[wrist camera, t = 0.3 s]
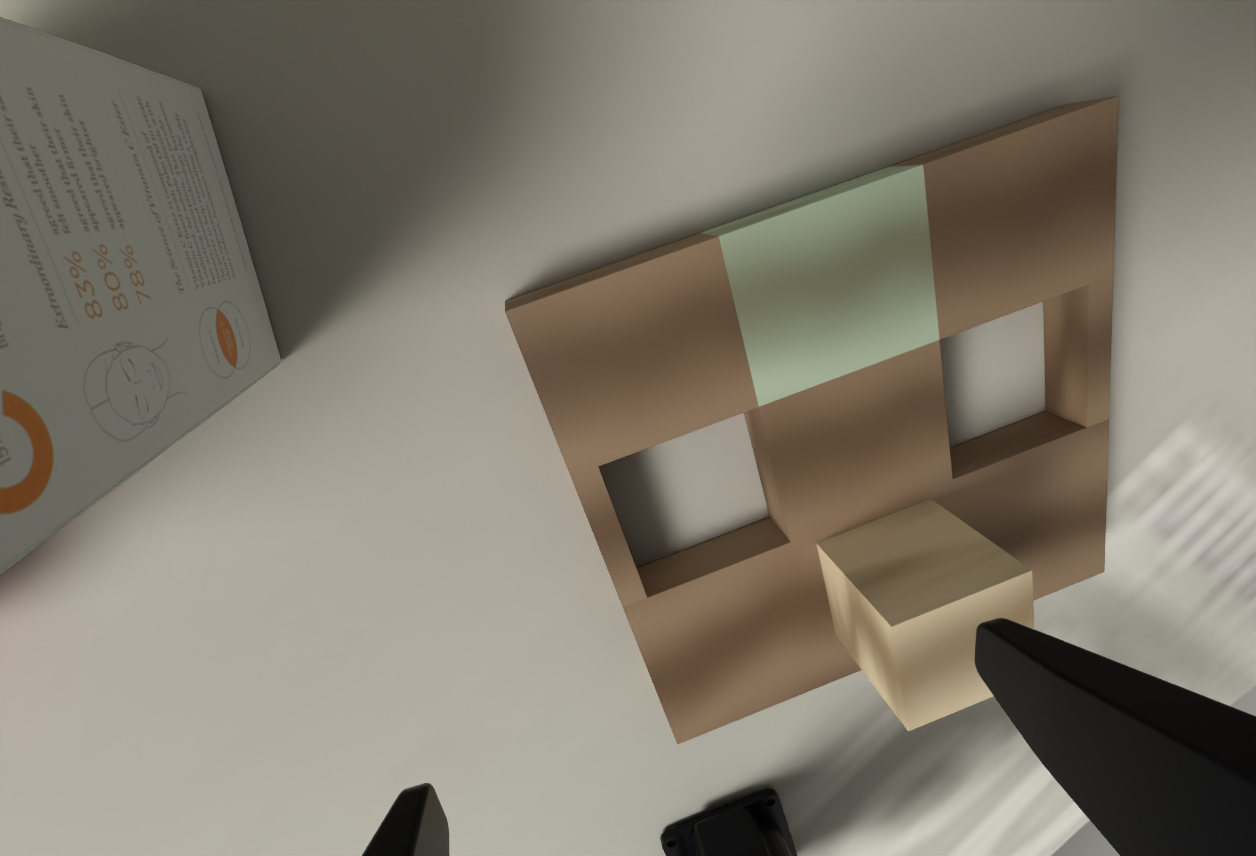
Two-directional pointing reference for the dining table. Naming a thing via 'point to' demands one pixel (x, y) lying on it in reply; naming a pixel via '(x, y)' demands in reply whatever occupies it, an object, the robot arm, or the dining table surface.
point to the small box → (110, 279)
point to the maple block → (921, 606)
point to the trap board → (842, 391)
